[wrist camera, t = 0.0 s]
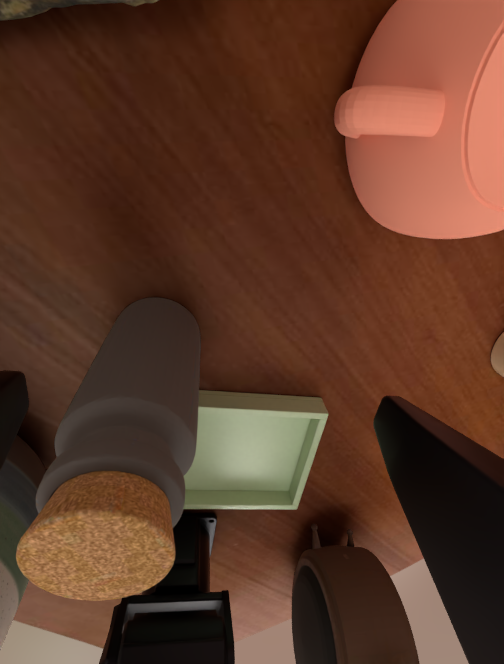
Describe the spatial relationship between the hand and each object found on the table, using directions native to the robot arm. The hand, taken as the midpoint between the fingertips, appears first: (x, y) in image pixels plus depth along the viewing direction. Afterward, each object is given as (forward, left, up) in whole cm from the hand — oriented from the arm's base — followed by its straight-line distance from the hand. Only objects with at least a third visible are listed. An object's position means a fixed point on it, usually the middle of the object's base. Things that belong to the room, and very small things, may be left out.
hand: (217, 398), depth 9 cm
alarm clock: (-31, -15, -15) cm, 38 cm away
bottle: (-6, +3, -15) cm, 16 cm away
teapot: (+9, -13, -15) cm, 22 cm away
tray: (-16, -3, -15) cm, 22 cm away
